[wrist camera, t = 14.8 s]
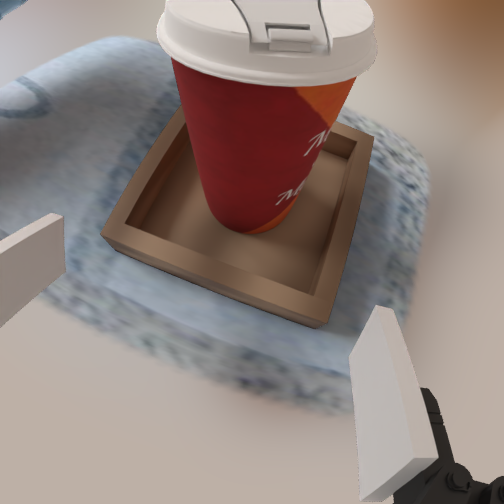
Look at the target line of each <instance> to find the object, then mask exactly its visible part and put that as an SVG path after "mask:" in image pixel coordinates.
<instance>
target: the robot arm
mask: <svg viewBox="0 0 504 504" xmlns="http://www.w3.org/2000/svg"><path fill="white" fill-rule="evenodd" d="M27 1H28V0H0V20H1V19H2V18H3V16H5V15H6V14H8V13H10V12H11V11H13V10H14V9H16V8H18V7H19V6H21V5H23V4H24V3H25V2H27ZM65 272H66V267H65V249H64V216H60V215H57V214H54V213H50V214H48V215H46V216H44V217H42V218H40V219H38V220H37V221H35V222H33V223H31V224H29V225H27V226H26V227H24V228H22V229H20V230H18V231H17V232H15V233H13V234H11V235H10V236H8V237H6V238H4V239H3V240H1V241H0V328H1V327H2V326H3V325H4V324H5V323H6V322H7V321H8V320H9V319H11V318H12V317H13V316H14V315H15V314H16V313H17V312H18V311H19V310H21V309H22V308H23V307H24V306H25V305H26V304H28V303H29V302H30V301H31V300H32V299H33V298H35V297H36V296H37V295H38V294H39V293H40V292H42V291H43V290H44V289H45V288H46V287H48V286H49V285H50V284H51V283H52V282H54V281H55V280H56V279H57V278H59V277H60V276H61V275H62V274H64V273H65ZM348 359H349V367H350V375H351V384H352V393H353V403H354V414H355V425H356V438H357V453H358V469H359V494H360V501H364V502H382V501H384V500H385V499H386V498H388V497H389V496H391V495H392V494H393V497H394V503H393V504H504V476H501V477H498V478H496V479H495V480H494V481H493V482H491V483H490V484H485V483H482V482H478V481H474V480H473V479H472V476H471V475H470V472H469V471H468V470H467V469H466V468H465V467H464V466H462V465H460V464H458V463H455V461H454V458H453V454H452V450H451V447H450V443H449V440H448V436H447V432H446V429H445V426H444V425H443V423H444V422H443V419H442V416H441V415H440V409H439V406H438V403H437V400H436V399H435V397H434V396H433V395H432V393H431V392H430V390H429V389H427V388H420V387H419V383H418V380H417V377H416V374H415V370H414V367H413V364H412V361H411V358H410V355H409V352H408V349H407V347H406V344H405V341H404V338H403V335H402V332H401V330H400V327H399V324H398V322H397V319H396V316H395V314H394V311H393V309H390V308H386V307H382V306H378V305H375V307H374V309H373V311H372V313H371V315H370V317H369V319H368V321H367V323H366V325H365V327H364V329H363V331H362V333H361V335H360V337H359V339H358V340H357V342H356V344H355V346H354V348H353V350H352V351H351V353H350V355H349V357H348Z"/></svg>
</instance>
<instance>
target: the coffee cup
mask: <svg viewBox="0 0 504 504" xmlns="http://www.w3.org/2000/svg"><path fill="white" fill-rule="evenodd" d="M373 31H374V16H373V13H372V10H371V8H370V7H369V5H368V4H367V2H366V1H365V0H166V4H165V11H164V13H163V14H162V15H161V17H160V19H159V22H158V24H157V32H156V35H157V39H158V42H159V44H160V46H161V47H162V48H163V50H164V51H165V52H166V53H167V54H168V55H170V56H171V60H172V64H173V69H174V73H175V78H176V82H177V86H178V91H179V95H180V99H181V103H182V108H183V112H184V116H185V120H186V124H187V129H188V133H189V137H190V141H191V145H192V149H193V153H194V157H195V161H196V165H197V168H198V172H199V176H200V180H201V183H202V187H203V191H204V194H205V197H206V201H207V203H208V206H209V209H210V211H211V212H212V214H213V216H214V217H215V218H216V219H217V220H218V221H219V222H220V223H221V224H222V225H223V226H225V227H226V228H228V229H230V230H233V231H235V232H239V233H244V234H257V233H262V232H266V231H268V230H271V229H273V228H274V227H276V226H277V225H279V224H280V223H281V222H282V221H283V220H284V219H285V217H286V216H287V215H288V213H289V211H290V210H291V208H292V206H293V204H294V203H295V201H296V199H297V197H298V195H299V193H300V191H301V189H302V187H303V185H304V183H305V181H306V179H307V177H308V175H309V173H310V171H311V169H312V167H313V165H314V163H315V161H316V159H317V157H318V155H319V153H320V151H321V149H322V147H323V145H324V143H325V141H326V139H327V137H328V135H329V133H330V131H331V129H332V127H333V125H334V123H335V121H336V119H337V117H338V114H339V112H340V110H341V108H342V106H343V104H344V102H345V100H346V98H347V96H348V94H349V92H350V90H351V88H352V86H353V83H354V81H355V79H356V77H357V76H359V75H360V74H362V73H363V72H365V71H366V70H368V69H369V68H370V67H371V65H372V64H373V63H374V61H375V58H376V56H377V42H376V39H375V36H374V33H373Z"/></svg>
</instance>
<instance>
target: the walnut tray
mask: <svg viewBox="0 0 504 504" xmlns="http://www.w3.org/2000/svg"><path fill="white" fill-rule="evenodd" d="M373 141H374V137H373V136H371V135H369V134H366V133H364V132H362V131H359V130H357V129H354V128H352V127H349V126H347V125H344V124H342V123H339V122H336V121H335V123H334V125H333V127H332V129H331V131H330V133H329V135H328V137H327V139H326V141H325V143H324V145H323V147H322V149H321V151H320V153H319V155H318V157H317V159H316V161H315V163H314V165H313V167H312V169H311V171H310V173H309V175H308V177H307V179H306V181H305V183H304V185H303V187H302V189H301V191H300V193H299V195H298V197H297V199H296V201H295V203H294V204H293V206H292V208H291V210H290V211H289V213H288V215H287V216H286V217H285V219H284V220H283V221H282V222H281V223H280V224H279V225H277V226H276V227H274V228H273V229H271V230H268V231H266V232H262V233H257V234H244V233H239V232H235V231H233V230H230V229H228V228H226V227H225V226H223V225H222V224H221V223H220V222H219V221H218V220H217V219H216V218H215V217H214V216H213V214H212V212H211V211H210V209H209V206H208V203H207V201H206V197H205V194H204V191H203V187H202V183H201V180H200V176H199V172H198V168H197V165H196V161H195V157H194V153H193V149H192V145H191V141H190V137H189V133H188V129H187V124H186V120H185V116H184V112H183V108H182V104H181V105H180V107H179V108H178V109H177V111H176V112H175V114H174V115H173V116H172V118H171V119H170V121H169V122H168V123H167V125H166V126H165V128H164V129H163V131H162V132H161V134H160V135H159V137H158V138H157V140H156V141H155V143H154V144H153V146H152V147H151V149H150V150H149V152H148V153H147V155H146V156H145V158H144V159H143V161H142V163H141V164H140V166H139V167H138V169H137V171H136V172H135V174H134V175H133V177H132V179H131V180H130V182H129V184H128V185H127V187H126V189H125V190H124V192H123V194H122V195H121V197H120V199H119V201H118V202H117V204H116V206H115V208H114V209H113V211H112V213H111V215H110V217H109V219H108V220H107V222H106V224H105V226H104V228H103V230H102V231H101V233H100V234H101V236H102V237H103V238H104V239H105V240H106V241H107V242H108V243H109V244H110V245H111V246H112V247H113V248H114V249H115V250H116V251H118V252H120V253H122V254H125V255H127V256H129V257H131V258H134V259H136V260H138V261H141V262H143V263H145V264H148V265H150V266H152V267H155V268H157V269H160V270H162V271H164V272H167V273H169V274H172V275H174V276H176V277H179V278H181V279H184V280H186V281H189V282H191V283H193V284H196V285H198V286H201V287H203V288H206V289H208V290H211V291H213V292H216V293H219V294H221V295H224V296H226V297H229V298H231V299H234V300H237V301H239V302H242V303H244V304H247V305H250V306H252V307H255V308H258V309H260V310H263V311H266V312H268V313H271V314H274V315H276V316H279V317H282V318H285V319H287V320H290V321H293V322H296V323H298V324H301V325H304V326H307V327H310V328H313V329H316V328H318V327H320V326H323V325H325V324H327V323H328V319H329V316H330V313H331V310H332V307H333V303H334V300H335V297H336V294H337V290H338V287H339V283H340V280H341V276H342V273H343V269H344V266H345V262H346V258H347V255H348V251H349V247H350V244H351V240H352V236H353V232H354V228H355V224H356V220H357V216H358V212H359V207H360V203H361V199H362V194H363V190H364V185H365V181H366V176H367V171H368V167H369V162H370V157H371V152H372V147H373Z"/></svg>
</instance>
